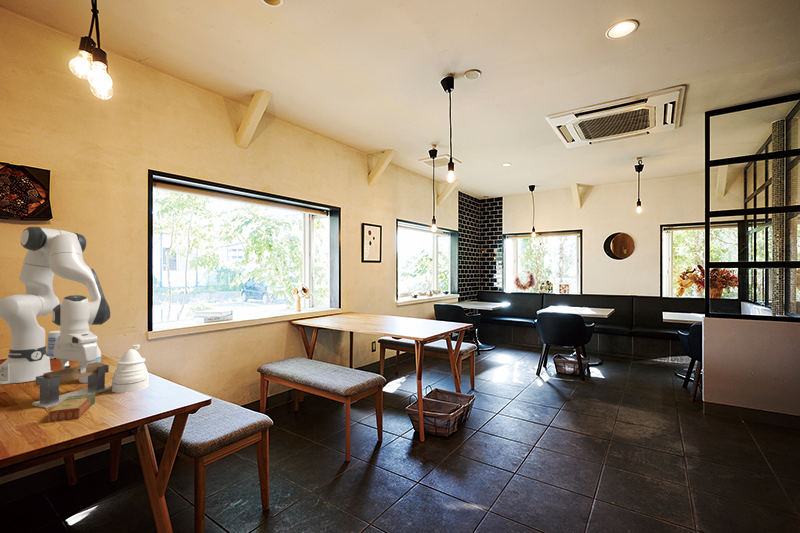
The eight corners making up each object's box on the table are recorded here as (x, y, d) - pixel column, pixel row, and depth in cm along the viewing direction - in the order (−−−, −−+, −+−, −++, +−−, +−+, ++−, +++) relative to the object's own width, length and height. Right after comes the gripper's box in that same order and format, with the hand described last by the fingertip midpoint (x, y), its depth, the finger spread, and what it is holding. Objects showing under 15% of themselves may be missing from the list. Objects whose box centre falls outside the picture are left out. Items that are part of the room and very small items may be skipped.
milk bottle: (88, 384, 162) (89, 338, 162) (74, 382, 164) (75, 337, 164) (105, 378, 170) (106, 335, 170) (91, 377, 171) (92, 334, 171)
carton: (47, 423, 122) (48, 411, 122) (67, 407, 137) (67, 395, 137) (79, 419, 126) (79, 407, 126) (95, 403, 140) (95, 392, 140)
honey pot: (139, 381, 166) (140, 341, 167) (154, 386, 160) (155, 345, 160) (105, 389, 155) (106, 346, 155) (120, 395, 149) (121, 350, 149)
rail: (43, 384, 138) (43, 373, 138) (95, 371, 155) (96, 362, 155) (50, 385, 137) (50, 374, 137) (102, 372, 154) (102, 362, 154)
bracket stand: (32, 405, 137) (32, 377, 137) (97, 387, 158) (97, 362, 158) (46, 408, 134) (46, 379, 134) (110, 389, 155) (110, 364, 155)
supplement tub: (45, 360, 201) (45, 333, 201) (48, 356, 209) (49, 330, 209) (68, 357, 207) (69, 331, 207) (71, 354, 214) (71, 329, 215)
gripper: (48, 336, 146) (47, 370, 146) (82, 340, 140) (82, 376, 140) (67, 333, 152) (66, 366, 152) (100, 337, 146) (100, 372, 146)
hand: (74, 371), depth 146 cm, fingers open, 8 cm apart
